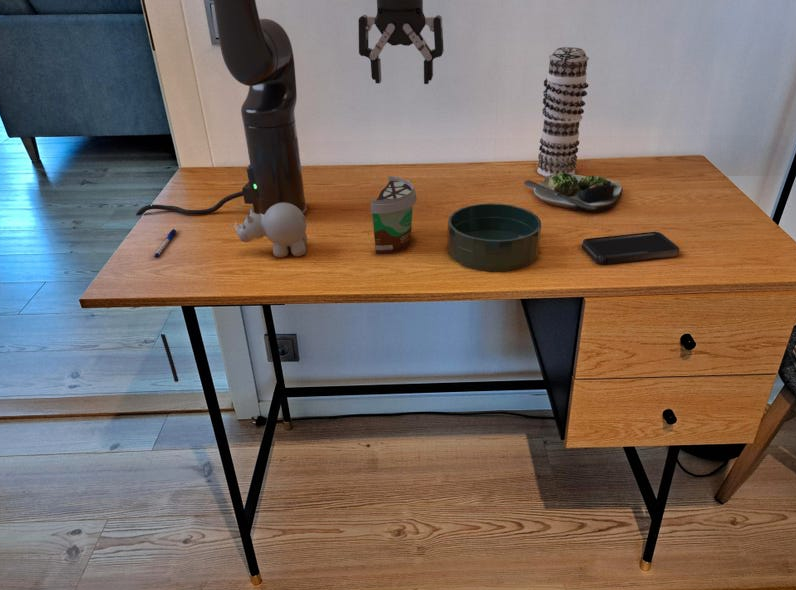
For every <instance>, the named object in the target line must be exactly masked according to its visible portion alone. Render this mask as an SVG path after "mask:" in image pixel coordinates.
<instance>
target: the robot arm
mask: <svg viewBox="0 0 796 590" xmlns="http://www.w3.org/2000/svg"><path fill="white" fill-rule="evenodd" d="M212 1H213V9H214V14H215V21H216V28H217V34H218V41H219V46H220V51H221V56H222V59H223V62H224V64H225V66H226V69H227V70H228V72H229V74H230V75H231V76H232V78H234V79H235V81H237V82H238V83H240V84H241V85H243V86H248V93H247V94H246V98H245V99H244V101H243V103H242V104H241V108H240V113H241V118H242V123H243V124H242V125H243V131H244V137H245V141H246V142H245V143H246V148H247V155H248V161H249V164H248V165H247V167H246V173H247V181H248V182H247V183H245V185H244V186H243V187H242V188H241V191H237V192H235V193H232V194H229V195H226V196H225V197H223V198H221V199H220V200H219V201H218V202H217V203H216V204H215V205H214V206H212V207H209V208H205V209H187V208H182V207H180V206H177V205H176V206H175V205H165V204H147V205H144V206H142V207H141V208H139V209H138V211H137V212H136V213H135V216H142V215H143V214H144V213H145V212H148V211H150V210H151V211H152V210H161V211H173V212H178V213H180V214H183V215H196V216H197V215H208V214H211V213H214V212H217V211H218V210H219V209H221V208H222V207H223V205H225V204H226V203H228V202H229V201H232V200H235V199H237V198H241V197H243V201H244V204H245V205H252V209H253V211H254V212H255V214H259V215H262V216H263V215H265V213H266V212H267V210H268V209H269V208H270V207H271V206H273V205H275V204H278V203H289V204H292V205H294V206H296V207H297V208H299V209H300V210H301V212H302V213H303V215H305V214H306V212H307V211H308V208H307V207H308V206H307V203H306V196H305V186H304V179H303V170H302V164H301V163H302V161H301V154H300V146H299V138H298V131H297V122H296V114H295V113H296V111H295V110H296V106H297V100H298V93H297V90H298V89H297V80H296V79H297V78H296V64H295V57H294V51H293V46H292V42H291V40H290V37H289V35H288V33H287V31H286V29H284V27H283V26H281V24H279V23H278V22H276V21H275V20H273V19H270V18H260V15H259V11H258V7H257V2H256V0H212ZM373 25H375V27H376V29H377V30H378V31H379V32H380V34H381V36H380V38H379V39H378V41H377V42H376V44H375V45H374V46H373V48H370V47H369V31H371V30H372V29H373ZM426 25H427V26H428V28H429V31H430V32H432V33H433V40H434V41H433V42H434V49H433V48H432V49H431V48H430V46H429V45H428V44H427V41H426V39H425V38H424V37H423V35H422V34H421V33H422V31H423V30H424V28H425V27H426ZM387 44H389V45H391V46H395V47H396V46H399V45H401V46H405V47H406V46H407V47H409V46H411V45H413V46H414V47H415V48H416V49H417V50H418V51H419V53H420V54H421V55H422V57H423V58H424V60H423V84H424V85H429V83H430V81H432V79H433V77H434V59H436V58H440V57H442V56H443V54H444V50H445V49H444V32H443V17H442V16H441V15H440V14H438V15H437V14H436V16H429V17H426V15H425V14H424V0H376V15H375V16H368V15H367V14H363V15H361V16H360V17H359V18H358V54H359V56H361V57H366V58H368V59H369V61H370V72H371V79H372V80H373V81H374V82H375V84H381V82H382V65H381V63H382V62H381V57H380V54H381V52H382V51H383V50H384V49H385V47H386V46H387ZM151 205H152V206H151ZM160 338H161V341H162V344H163V347H164V350H165V354H166V357H167V360H168V363H169V366H170V370H171V374H172V377H173V381H174V383H179V380H180V379H179V377H178V372H177V369H176V367H175V362H174V359H173V356H172V353H171V349H170V346H169V343H168V339H167V337H166V334H165V333H164V334H163V333H160Z"/></svg>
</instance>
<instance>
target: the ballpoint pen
mask: <svg viewBox="0 0 796 590" xmlns="http://www.w3.org/2000/svg"><path fill="white" fill-rule="evenodd" d="M176 233H177V229H176V230H175V228H173V229H171V230H170V232H169V233H168V234H167V237H166V238H165V240H164V242H163V243H162V244H161V246H159V248H158V249H157V250H156V252H155V254H154V258H155V259H156V258H158V257H159V256H160V255H161V253H162V252H163V251H164V249H165V248H166V246H167V245H168V244H169V243H170V242H171V240H172V239H173V238H174V237H175V235H176Z"/></svg>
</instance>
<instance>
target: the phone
mask: <svg viewBox="0 0 796 590" xmlns="http://www.w3.org/2000/svg"><path fill="white" fill-rule="evenodd" d="M581 248H582V249H583V250H584V251H585V253H586V254H588V255H589V256H590V258H591V259H592V260H593V261H594V262H595V263H597V264H599V265H609V264H619V263H628V262H629V263H630V262H638V261H645V260H654V259H655V260H657V259H665V258H673V257H677V256H678V255H679V251H680V247H679V246H678V245H677V244H675V243H674V242H673V241H672V240H671V239H669V238H668V237H667V236H666V235H664V234H663V233H662V232H659V231H648V232H647V231H646V232H639V233H638V232H637V233H629V234H619V235H618V234H617V235H608V236H600V237H591V238H584V239H582V244H581Z"/></svg>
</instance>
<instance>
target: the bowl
mask: <svg viewBox="0 0 796 590" xmlns="http://www.w3.org/2000/svg"><path fill="white" fill-rule="evenodd" d="M541 232H542V220H541V218H540V217H539V216H538V214H535V213H534V212H532V211H531V210H529V209H526V208H524V207H521V206H517V205H512V204H506V203H494V202H493V203H489V202H488V203H477V204H476V203H475V204H472V205H467V206H464V207H461V208H458V209H457V210H455V211H453V212H452V213H451V214H450V215H449V216H448V219H447V250H448V254H449V257H451V259H452V260H453V261H455V262H456V263H457V264H459V265H461V266H464V267H467V268H470V269H472V270H477V271H484V272H497V273H498V272H509V271H515V270H519V269H522V268H525V267H527V266H528V265H529V266H530V264H532V263H533V262H534V261H535V260H536V258H537V257H538V253H539V250H540V243H541Z"/></svg>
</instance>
